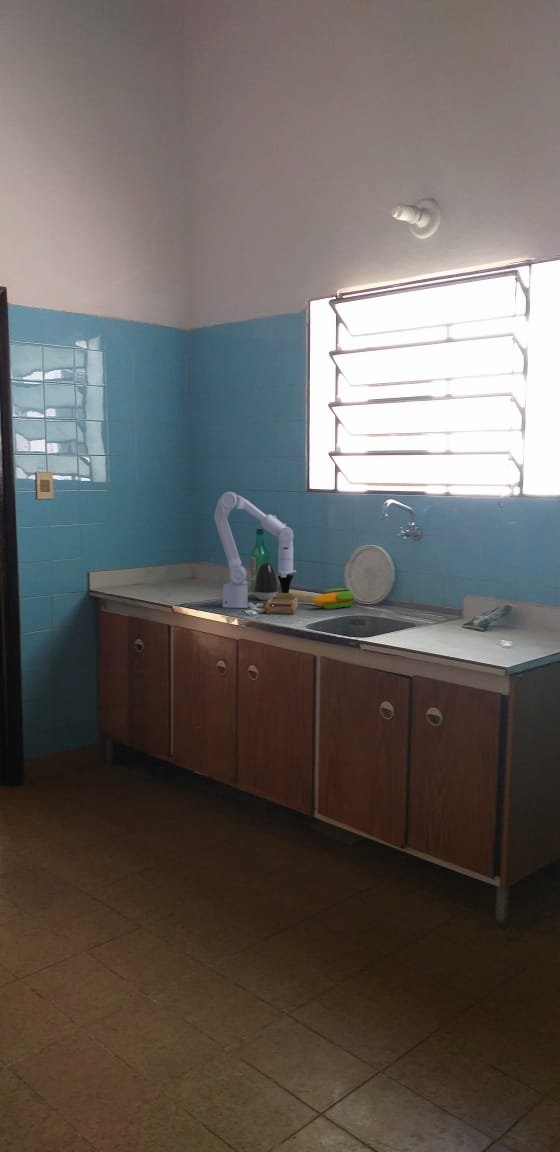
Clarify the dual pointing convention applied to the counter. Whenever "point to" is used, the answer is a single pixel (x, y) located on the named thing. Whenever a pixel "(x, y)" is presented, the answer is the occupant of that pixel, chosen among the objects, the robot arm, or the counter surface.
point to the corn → (334, 599)
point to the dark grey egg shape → (266, 582)
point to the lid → (282, 599)
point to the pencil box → (282, 607)
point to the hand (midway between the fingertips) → (285, 594)
